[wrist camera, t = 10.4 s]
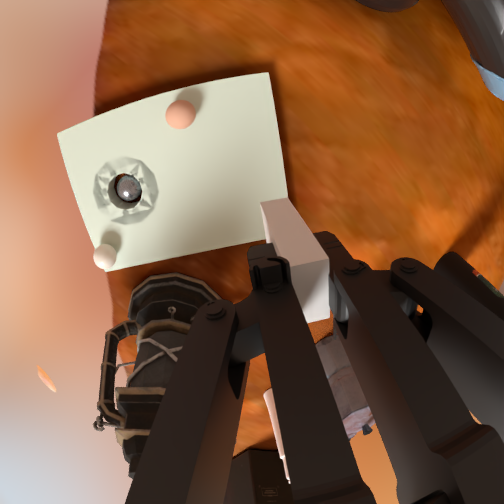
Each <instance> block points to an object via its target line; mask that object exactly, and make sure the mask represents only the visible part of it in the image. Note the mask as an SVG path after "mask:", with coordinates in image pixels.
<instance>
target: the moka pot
mask: <svg viewBox="0 0 504 504" xmlns="http://www.w3.org/2000/svg"><path fill="white" fill-rule="evenodd" d="M316 348H317V351H318V354H319V356H320V359H321V362H322V365H323V367H324V370H325V373H326V376H327V378H328V381H329V384H330V387H331V390H332V393H333V395H334V398H335V401H336V404H337V407H338V410H339V413H340V415H341V418H342V421H343V424H344V427H345V430H346V433H347V436H348V439H349V441H350V439H351V438H352V437H354V436H355V435H356V433H357V432H358V431H361V430H363V434H364V435H367V434H370V433H371V432H372V429H371V426H372V425H373V424H375V420H374V418H373V415H372V413H371V410H370V408H369V406H368V403H367V401H366V398H365V396H364V394H363V391H362V389H361V386H360V384H359V382H358V379H357V377H356V375H355V372H354V370H353V368H352V366H351V363H350V361H349V359H348V356H347V354H346V352H345V350H344V347H343V345H342V343H341V341H340V339H339V336H338V335H337V337H336V340H334V339H333V335H332V336H329V337H326V338H324V339H322V340H321V341H319V342H318V343H317V344H316Z"/></svg>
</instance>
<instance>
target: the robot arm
mask: <svg viewBox="0 0 504 504" xmlns="http://www.w3.org/2000/svg"><path fill="white" fill-rule="evenodd" d="M356 1H358V2H359V3H361V4H363V5H365V6H367V7H370V8H373V9H376V10H379V11H384V12H398V11H402V10H405V9H407V8H410V7H412V6H414V5H415V4H416V3H418V1H419V0H356ZM441 1H442V2H443V4H444V6H445V7H446V9H447V10H448V12H449V14H450V15H451V17H452V19H453V20H454V22H455V24H456V26H457V28H458V29H459V31H460V33H461V35H462V37H463V39H464V41H465V43H466V45H467V47H468V49H469V51H470V53H471V54H470V56H471V59H472V61H473V62H474V63H475V64H476V66H477V68H478V70H479V72H480V75H481V77H482V79H483V81H484V83H485V85H486V87H487V88H488V89H489V90H490V92H491V93H493V94H494V95H495V96H496V97H498V98H500V99H501V100H503V101H504V0H441ZM260 206H261V212H262V218H263V224H264V230H265V236H266V242H267V243H266V244H261V245H256V246H251V247H250V248H249V250H248V252H247V257H248V262H249V272H250V277H251V282H252V287H253V290H252V292H251V294H250V295H249V296H248V297H247V298H246V299H244V300H243V301H241V302H239V303H236V304H233V303H232V302H230V301H228V300H224V299H217V300H212V301H209V302H207V303H205V304H204V305H202V306H201V307H200V308H199V309H198V311H197V312H196V315H195V317H194V319H193V322H192V324H191V327H190V329H189V332H188V334H187V337H186V339H185V342H184V344H183V347H182V349H181V352H180V354H179V357H178V359H177V362H176V364H175V367H174V369H173V372H172V375H171V377H170V380H169V382H168V385H167V388H166V390H165V393H164V395H163V398H162V401H161V403H160V406H159V409H158V411H157V414H156V417H155V419H154V422H153V425H152V427H151V430H150V433H149V436H148V438H147V441H146V444H145V447H144V449H143V452H142V455H141V458H140V461H139V464H138V466H137V469H136V472H135V475H134V478H133V481H132V484H131V487H130V490H129V493H128V496H127V499H126V502H125V504H223V502H224V497H225V492H226V487H227V482H228V477H229V472H230V467H231V462H232V457H233V452H234V447H235V441H236V436H237V431H238V426H239V420H240V415H241V410H242V404H243V399H244V393H245V388H246V382H247V377H248V371H249V366H250V359H252V358H254V357H257V356H259V355H261V354H263V353H265V355H266V361H267V366H268V371H269V376H270V382H271V387H272V392H273V397H274V402H275V408H276V413H277V418H278V423H279V428H280V433H281V438H282V444H283V449H284V454H285V459H286V464H287V469H288V474H289V479H290V484H291V489H292V494H293V500H294V504H377V503H376V501H375V498H374V495H373V493H372V492H371V490H370V488H369V487H368V486H367V485H366V484H365V483H364V481H363V480H362V478H361V475H360V472H359V469H358V466H357V463H356V460H355V457H354V454H353V451H352V448H351V445H350V442H349V439H348V436H347V433H346V430H345V427H344V424H343V421H342V418H341V415H340V413H339V410H338V407H337V404H336V401H335V398H334V395H333V393H332V390H331V387H330V384H329V381H328V378H327V376H326V373H325V370H324V367H323V365H322V362H321V359H320V356H319V354H318V351H317V348H316V345H315V343H314V340H313V337H312V335H311V332H310V329H309V327H308V324H307V323H310V322H314V321H318V320H322V319H327V318H330V309H331V311H332V313H333V315H334V318H333V339H334V340H336V337H337V334H338V336H339V339H340V341H341V343H342V345H343V347H344V350H345V352H346V354H347V356H348V359H349V361H350V363H351V366H352V368H353V370H354V372H355V375H356V377H357V379H358V382H359V384H360V386H361V389H362V391H363V394H364V396H365V398H366V401H367V403H368V406H369V408H370V410H371V413H372V415H373V418H374V420H375V423H376V425H377V428H378V430H379V433H380V435H381V438H382V440H383V443H384V445H385V448H386V451H387V453H388V456H389V459H390V461H391V464H392V467H393V469H394V472H395V475H396V478H397V489H396V490H397V497H398V501H399V504H504V321H503V320H502V319H500V318H499V317H498V316H496V315H495V314H494V313H493V312H491V311H490V310H489V309H487V308H486V307H485V306H483V305H482V304H481V303H479V302H478V301H477V300H475V299H474V298H472V297H471V296H470V295H468V294H467V293H465V292H464V291H463V290H461V289H460V288H458V287H457V286H456V285H454V284H453V283H451V282H450V281H448V280H447V279H445V278H444V277H442V276H441V275H439V274H438V273H436V272H435V271H433V270H432V269H430V268H429V267H427V266H426V265H424V264H423V263H421V262H420V261H418V260H415V259H412V258H407V257H404V258H399V259H396V260H394V261H393V262H392V264H391V269H390V270H372V269H371V268H370V267H369V265H367V264H366V263H365V262H363V261H360V260H355V259H353V258H352V256H351V255H350V254H349V252H348V251H347V250H346V249H345V247H344V246H343V245H342V244H341V242H339V240H338V239H337V237H336V236H335V235H334V234H332V233H330V232H328V231H323V232H318V233H313V234H312V232H311V231H310V229H309V228H308V226H307V225H306V223H305V222H304V220H303V219H302V217H301V216H300V215H299V213H298V212H297V210H296V209H295V207H294V206H293V205H292V203H291V202H290V200H289V199H288V197H287V198H281V199H276V200H270V201H265V202H260ZM418 305H420V306H421V307H422V308H423V313H420V312H418V311H417V306H418ZM469 411H470V412H471V413H472V414H473V415H474V416H475V417H476V418H477V419H478V420H479V421H480V422H481V424H478V423H477V422H475V420H474V419H473V418H472V416H471V414H470V412H469Z"/></svg>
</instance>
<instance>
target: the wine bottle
mask: <svg viewBox="0 0 504 504" xmlns="http://www.w3.org/2000/svg"><path fill="white" fill-rule="evenodd" d="M433 271H435V272H436V273H438V274H439V275H441V276H442V277H444V278H445V279H447V280H448V281H450V282H451V283H453V284H454V285H456V286H457V287H458V288H460V289H461V290H463V291H464V292H465V293H467V294H468V295H470V296H471V297H472V298H474V299H475V300H477V301H478V302H479V303H481V304H482V305H483V306H485V307H486V308H487V309H489V310H490V311H491V312H493V313H494V314H495V315H496V316H498V317H499V318H500V319H502V320H503V321H504V296H503V295H502V294H501V293H500V292H499V291H498V290H497V289H496V288H495V287H494V286H493V285H492V284H491V283H490V282H489V281H488V280H486V279H485V278H484V277H483V276H482V275H481V274H480V273H479V272H478V271H477V270H475V269H474V268H473V267H472V266H471V265H470V264H469V263H467V262H466V261H465V260H464V259H463V258H462V257H460V256H459V255H458V254H457V253H455V252H449V253H447V254H445V255H444V256H443V257H442V258H441V259H440V260H439V261H438V262H437V264H436V266H435V268H434V270H433Z"/></svg>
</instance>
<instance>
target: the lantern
mask: <svg viewBox="0 0 504 504" xmlns="http://www.w3.org/2000/svg"><path fill="white" fill-rule="evenodd" d="M217 299H222V298H221V297H220V296H219V295H218V294H217V293H216V292H215V291H213V290H212V289H211V288H210V287H209V286H208V285H207V284H206V283H205V282H204V281H202V280H199V279H196V278H193V277H190V276H186V275H183V274H180V273H177V272H175V273H168V274H161V275H153V276H149V277H148V278H147V279H146V280H144V281H143V282H142V283H141V284H139V285H138V286H137V287H136V288H135V289H133V290H132V295H131V299H130V304H129V309H128V311H129V313H128V318H129V321H123V322H122V323H120V324H119V325H117V326H115V327H114V328H112V329H110V330H109V331H107V332H106V334H105V339H106V341H105V348H104V355H103V363H102V364H101V370H102V371H101V382H100V391H99V401H98V402H97V409H98V410H99V411H100V412H101V413H100V416H98V417H97V418H96V421H95V422H94V423H93V426H94V428H95V429H96V430H97V431H103V430H104V427H103V425H106V426H111V427H116V428H115V433H116V438H117V442H118V443H119V444H120V446H121V447H122V449H123V454H124V458H125V460H126V461H127V462H128V463H129V464H130V465H129V475H128V476H129V477H131V478H132V479H133V478H134V475H135V472H136V469H137V466H138V464H139V461H140V458H141V455H142V452H143V449H144V447H145V444H146V441H147V438H148V436H149V433H150V430H151V427H152V425H153V422H154V419H155V417H156V414H157V411H158V409H159V406H160V403H161V401H162V398H163V395H164V393H165V390H166V388H167V385H168V382H169V380H170V377H171V375H172V372H173V369H174V367H175V364H176V362H177V359H178V357H179V354H180V352H181V349H182V347H183V344H184V342H185V339H186V337H187V334H188V332H189V329H190V327H191V324H192V322H193V319H194V317H195V315H196V312H197V311H198V309H199V308H200V307H201V306H202V305H204V304H205V303H207V302H209V301H212V300H217ZM129 335H137V339H136V344H137V346H138V349H137V352H138V354H137V357H136V361H135V362H129V363H124V364H119V365H118V366H117V367H116V355H117V345H118V343H119V341H120V340H122V339H124V338H125V337H127V336H129ZM131 364H135V366H134V370H133V373H132V374H131V375H130V376H129V377H128V379H127V384H126V387H116V388H115V393H116V402H117V408H118V410H116V409H115V403H114V381H115V374H116V372H117V370H118V368H119V367H120V366H126V365H131ZM130 383H131V385H130ZM103 417H104V418H105V420H106V421H107V422H109V423H107V422H103V419H102V418H103ZM97 424H98V426H99V427H101V428H98V427H97ZM235 444H236V441H235Z"/></svg>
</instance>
